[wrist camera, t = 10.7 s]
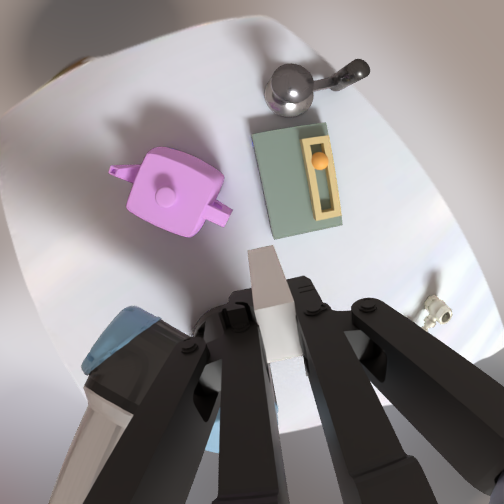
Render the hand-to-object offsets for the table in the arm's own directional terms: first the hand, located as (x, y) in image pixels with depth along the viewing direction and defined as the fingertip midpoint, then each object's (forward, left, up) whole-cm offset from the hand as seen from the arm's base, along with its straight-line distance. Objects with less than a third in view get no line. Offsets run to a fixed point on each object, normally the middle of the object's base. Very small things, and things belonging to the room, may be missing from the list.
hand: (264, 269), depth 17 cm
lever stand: (+1, -8, -28) cm, 30 cm away
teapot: (+4, +10, -29) cm, 31 cm away
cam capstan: (+15, -12, -28) cm, 34 cm away
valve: (-32, -32, -29) cm, 54 cm away
